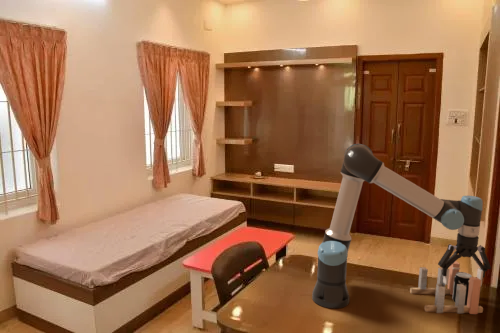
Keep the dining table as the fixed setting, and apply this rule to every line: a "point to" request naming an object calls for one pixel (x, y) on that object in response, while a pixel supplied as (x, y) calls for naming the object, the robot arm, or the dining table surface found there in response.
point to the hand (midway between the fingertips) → (462, 284)
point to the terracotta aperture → (472, 291)
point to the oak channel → (446, 307)
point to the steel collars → (443, 291)
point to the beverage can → (461, 279)
